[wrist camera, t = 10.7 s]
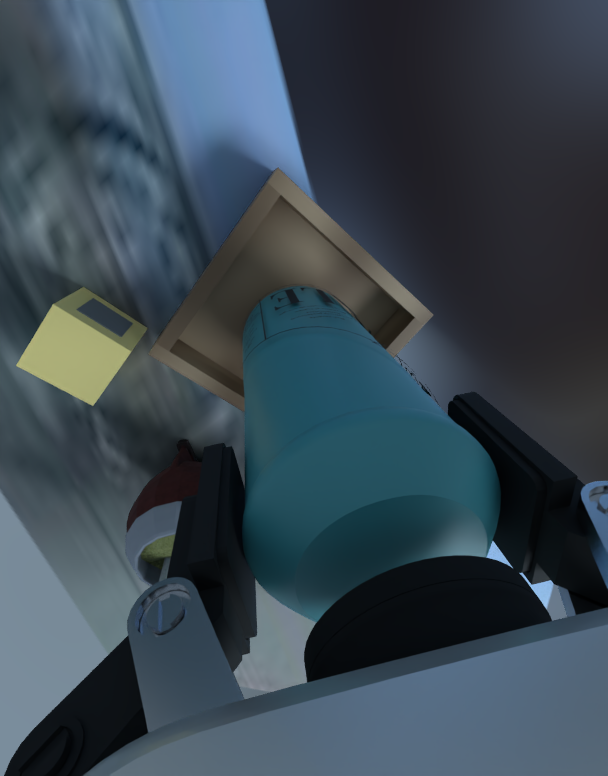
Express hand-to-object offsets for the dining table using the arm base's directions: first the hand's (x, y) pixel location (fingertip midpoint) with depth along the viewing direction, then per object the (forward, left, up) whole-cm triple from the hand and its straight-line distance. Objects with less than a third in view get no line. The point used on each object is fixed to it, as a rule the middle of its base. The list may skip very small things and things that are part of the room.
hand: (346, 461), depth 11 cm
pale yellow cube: (+9, +8, -15) cm, 19 cm away
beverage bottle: (0, 0, -13) cm, 13 cm away
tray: (0, 0, -14) cm, 14 cm away
